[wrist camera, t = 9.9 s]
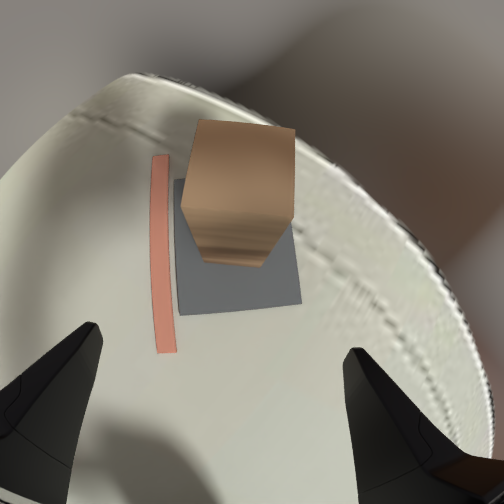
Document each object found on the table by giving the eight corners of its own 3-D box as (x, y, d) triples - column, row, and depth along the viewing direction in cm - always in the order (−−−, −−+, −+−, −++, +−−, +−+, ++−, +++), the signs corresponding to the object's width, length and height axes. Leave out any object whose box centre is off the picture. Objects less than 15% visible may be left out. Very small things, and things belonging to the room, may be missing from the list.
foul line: (176, 352, 21) (176, 352, 21) (158, 352, 21) (157, 353, 21) (169, 156, 25) (168, 154, 25) (153, 158, 25) (152, 156, 24)
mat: (300, 303, 23) (301, 303, 22) (180, 315, 22) (179, 315, 21) (281, 174, 25) (282, 172, 25) (174, 181, 24) (174, 179, 24)
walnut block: (260, 267, 23) (293, 217, 11) (204, 262, 22) (180, 206, 11) (263, 215, 24) (295, 129, 12) (210, 209, 24) (198, 119, 12)
